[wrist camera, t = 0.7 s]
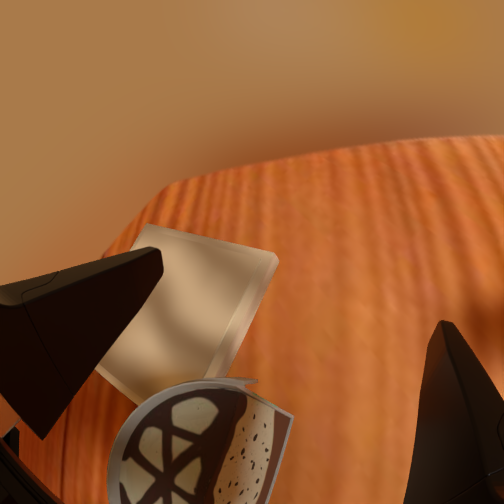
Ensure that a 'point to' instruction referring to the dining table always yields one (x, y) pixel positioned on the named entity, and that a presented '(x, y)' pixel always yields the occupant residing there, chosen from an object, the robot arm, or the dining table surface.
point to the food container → (199, 446)
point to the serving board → (188, 313)
